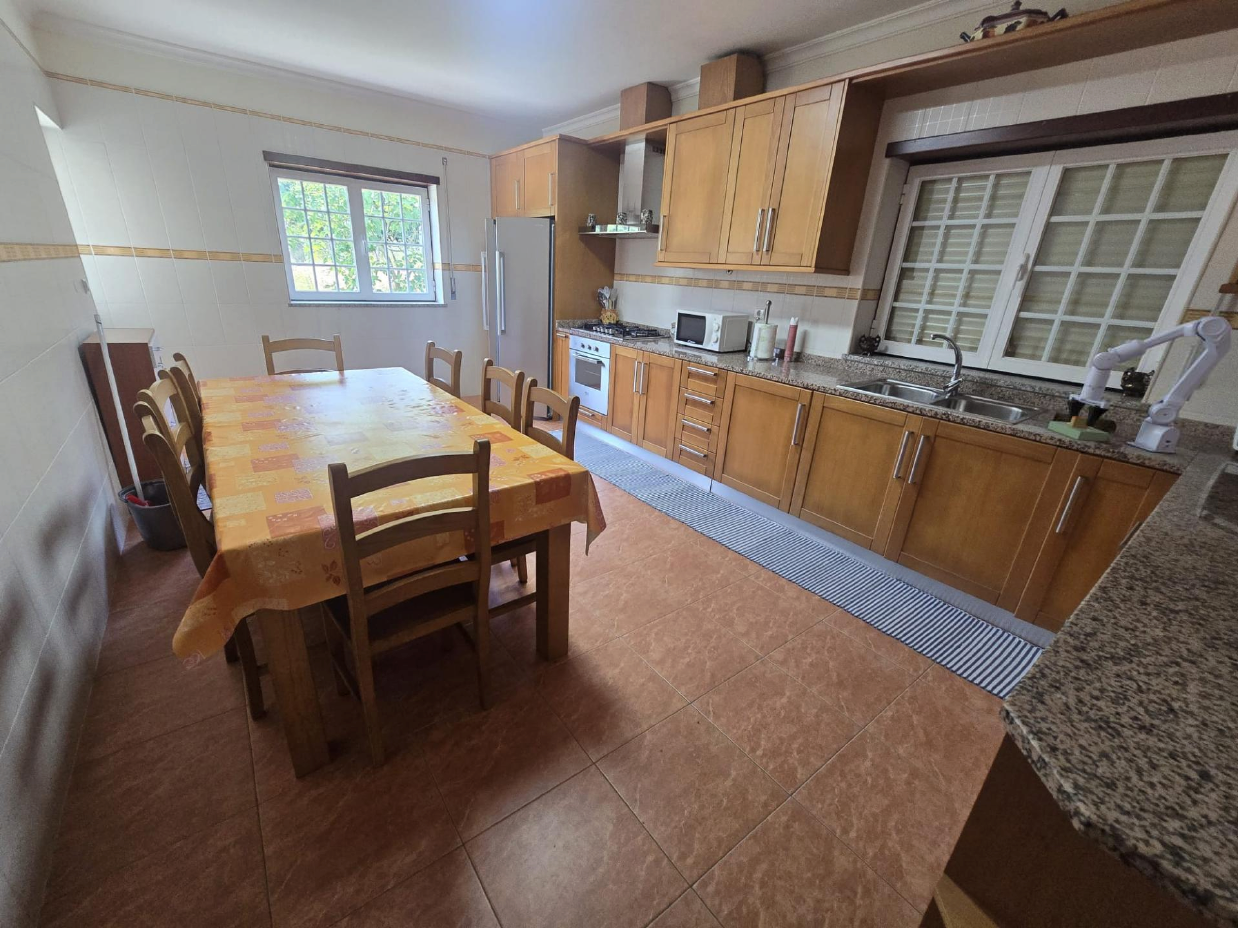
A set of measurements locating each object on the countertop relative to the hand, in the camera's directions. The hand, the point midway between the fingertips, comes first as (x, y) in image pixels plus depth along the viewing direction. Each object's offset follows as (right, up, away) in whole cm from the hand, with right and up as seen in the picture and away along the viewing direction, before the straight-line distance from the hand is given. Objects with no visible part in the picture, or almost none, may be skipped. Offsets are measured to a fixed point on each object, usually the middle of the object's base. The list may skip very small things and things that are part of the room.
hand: (1080, 423), depth 184 cm
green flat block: (0, -4, +2) cm, 5 cm away
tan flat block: (0, -1, 0) cm, 1 cm away
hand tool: (+15, 0, +16) cm, 22 cm away
